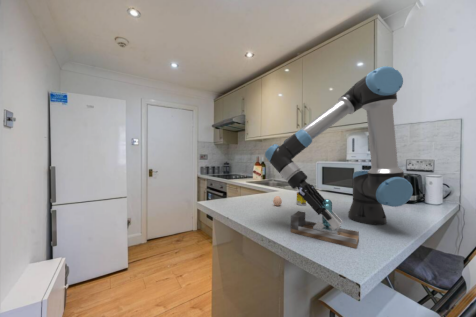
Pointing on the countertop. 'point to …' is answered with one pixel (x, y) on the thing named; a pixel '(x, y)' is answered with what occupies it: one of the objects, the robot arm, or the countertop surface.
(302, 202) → the supplement bottle
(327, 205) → the sliding jaw
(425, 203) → the countertop surface
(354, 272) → the countertop surface
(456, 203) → the countertop surface
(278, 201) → the egg
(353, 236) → the press base
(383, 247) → the countertop surface
